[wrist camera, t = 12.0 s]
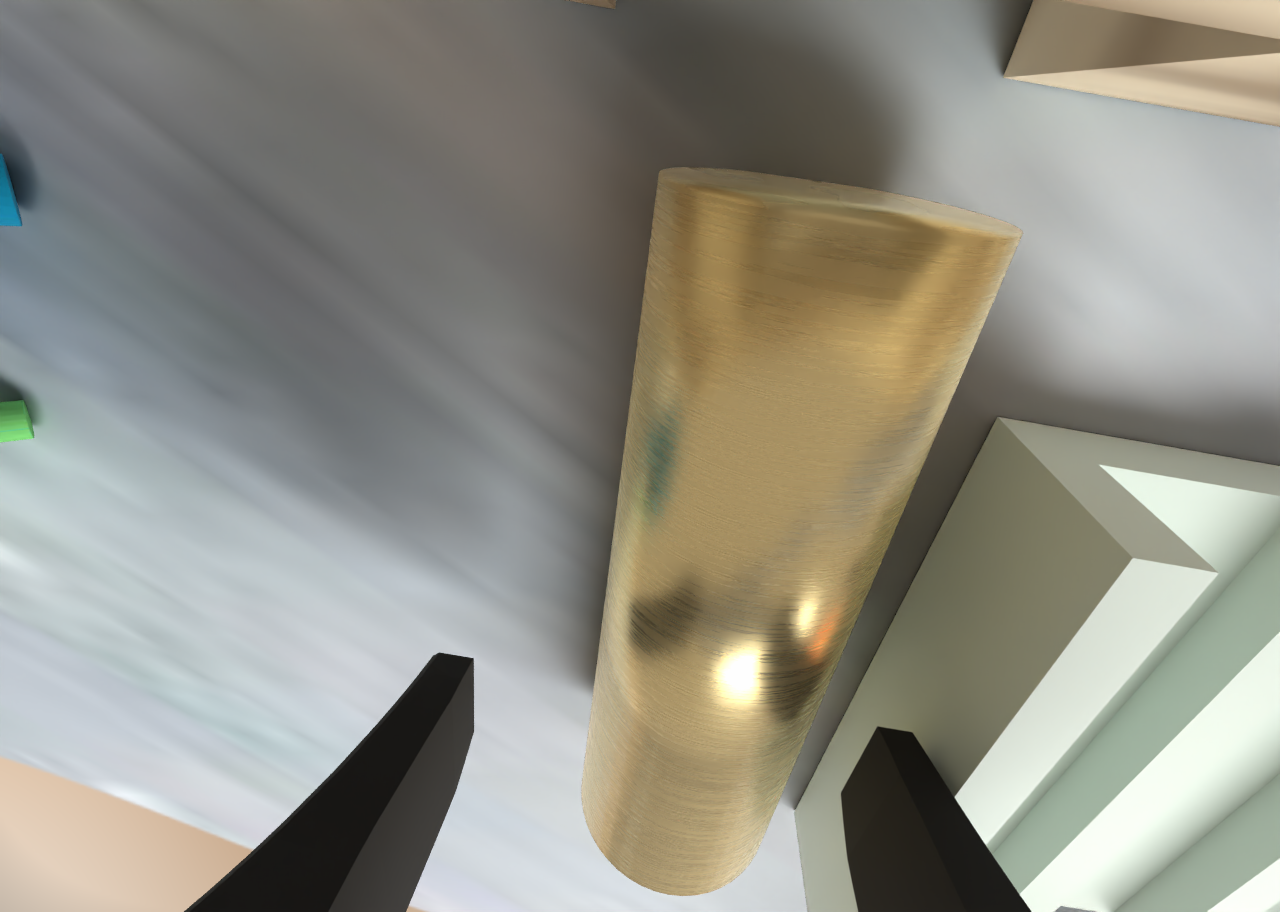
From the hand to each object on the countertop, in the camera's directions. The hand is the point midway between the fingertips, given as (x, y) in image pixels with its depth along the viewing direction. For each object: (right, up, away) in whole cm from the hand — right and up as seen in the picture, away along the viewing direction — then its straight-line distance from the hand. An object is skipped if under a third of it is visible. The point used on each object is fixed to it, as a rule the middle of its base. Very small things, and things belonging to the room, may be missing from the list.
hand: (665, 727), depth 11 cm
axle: (+1, +3, -1) cm, 3 cm away
